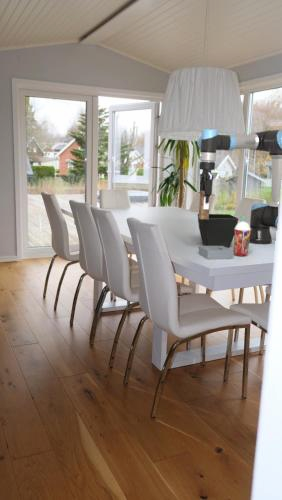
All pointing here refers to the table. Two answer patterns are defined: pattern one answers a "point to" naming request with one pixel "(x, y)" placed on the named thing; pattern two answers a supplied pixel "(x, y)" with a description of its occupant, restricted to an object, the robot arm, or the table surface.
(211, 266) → the table surface
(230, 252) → the socket block
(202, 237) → the flower pot
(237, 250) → the smoothie
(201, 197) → the peg
